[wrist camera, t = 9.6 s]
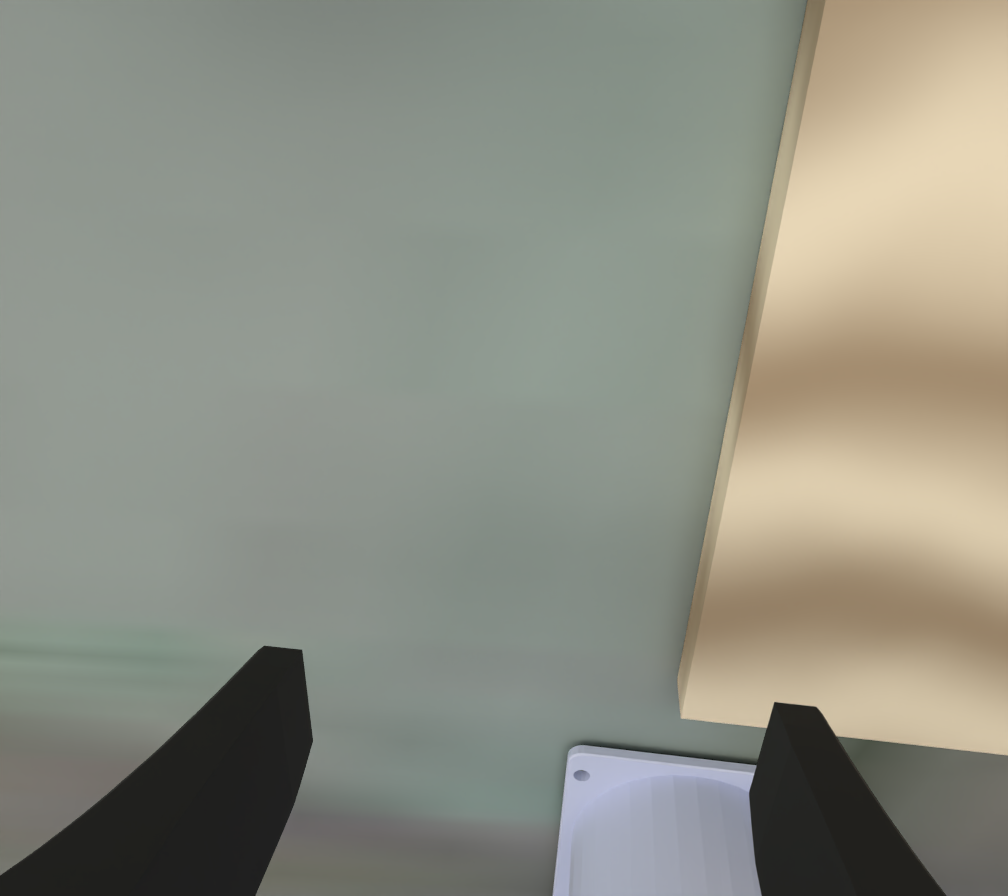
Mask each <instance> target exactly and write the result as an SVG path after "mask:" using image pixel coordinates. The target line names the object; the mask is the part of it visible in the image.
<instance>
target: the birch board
mask: <svg viewBox="0 0 1008 896" xmlns="http://www.w3.org/2000/svg"><path fill="white" fill-rule="evenodd" d="M677 683H678V693H679V704H680V715H681V718H682V719H691V720H699V721H708V722H717V723H726V724H735V725H744V726H753V727H762V728H767V726H768V723H769V719H770V715H771V712H772V708H773V705H774V702H779V703H788V704H797V705H806V706H815V707H817V708H818V709H819V710H820V711H821V713H822V714H823V716H824V717H825V719H826V720H827V722H828V724H829V725H830V727H831V729H832V730H833V732H834V733H835V735H836V736H841V737H850V738H859V739H868V740H877V741H886V742H894V743H903V744H912V745H921V746H930V747H939V748H948V749H956V750H965V751H974V752H983V753H992V754H1001V755H1008V0H808V1H807V6H806V11H805V17H804V22H803V27H802V32H801V37H800V43H799V48H798V53H797V58H796V63H795V69H794V74H793V79H792V84H791V89H790V95H789V100H788V105H787V110H786V115H785V121H784V126H783V131H782V136H781V141H780V147H779V152H778V157H777V162H776V168H775V173H774V178H773V183H772V188H771V194H770V199H769V204H768V209H767V214H766V220H765V225H764V230H763V235H762V240H761V246H760V251H759V256H758V261H757V266H756V272H755V277H754V282H753V287H752V292H751V298H750V303H749V308H748V313H747V318H746V324H745V329H744V334H743V339H742V345H741V350H740V355H739V360H738V365H737V371H736V376H735V381H734V386H733V391H732V397H731V402H730V407H729V412H728V417H727V423H726V428H725V433H724V438H723V443H722V449H721V454H720V459H719V464H718V469H717V475H716V480H715V485H714V490H713V495H712V501H711V506H710V511H709V516H708V522H707V527H706V532H705V537H704V542H703V548H702V553H701V558H700V563H699V568H698V574H697V579H696V584H695V589H694V594H693V600H692V605H691V610H690V615H689V620H688V626H687V631H686V636H685V641H684V646H683V652H682V657H681V662H680V667H679V672H678V678H677Z"/></svg>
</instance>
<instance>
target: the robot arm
mask: <svg viewBox="0 0 1008 896" xmlns="http://www.w3.org/2000/svg"><path fill="white" fill-rule="evenodd" d="M312 743H313V738H312V729H311V721H310V712H309V704H308V696H307V687H306V679H305V670H304V662H303V654H302V650H298V649H289V648H280V647H271V646H263V647H262V648H261V649H260V650H258V651H257V652H256V653H255V654H254V655H253V656H252V657H251V658H250V659H249V660H248V661H247V662H246V663H245V664H244V665H243V667H242V668H241V669H240V670H239V671H238V672H237V673H236V674H235V675H234V676H233V677H232V678H231V679H230V680H229V681H228V682H227V683H226V684H225V685H224V686H223V687H222V688H221V689H220V690H219V691H218V692H217V693H216V694H215V695H214V696H213V697H212V698H211V699H210V700H209V701H208V702H207V703H206V704H205V705H204V706H203V707H202V708H201V709H200V710H199V711H198V712H197V713H196V714H195V715H194V716H193V717H192V718H191V719H190V720H188V721H187V722H186V723H185V724H184V725H183V726H182V727H181V728H180V729H179V730H178V731H177V732H176V733H175V734H174V735H173V736H172V737H171V738H170V739H168V740H167V741H166V742H165V743H164V744H163V745H162V746H161V747H160V748H159V749H158V750H157V751H156V752H155V753H154V754H152V755H151V756H150V757H149V758H148V759H147V760H146V761H145V762H143V763H142V764H141V765H140V766H139V767H138V768H137V769H135V770H134V771H133V772H132V773H131V774H130V775H129V776H127V777H126V778H125V779H124V780H123V781H122V782H121V783H119V784H118V785H117V786H116V787H115V788H114V789H112V790H111V791H110V792H109V793H108V794H107V795H106V796H104V797H103V798H102V799H101V800H100V801H98V802H97V803H96V804H95V805H93V806H92V807H91V808H90V809H89V810H87V811H86V812H85V813H84V814H82V815H81V816H80V817H79V818H77V819H76V820H75V821H74V822H72V823H71V824H70V825H69V826H67V827H66V828H65V829H63V830H62V831H61V832H59V833H58V834H57V835H55V836H54V837H53V838H52V839H50V840H49V841H48V842H46V843H45V844H44V845H42V846H41V847H40V848H38V849H37V850H36V851H34V852H33V853H32V854H30V855H29V856H27V857H26V858H24V859H23V860H22V861H20V862H19V863H17V864H16V865H14V866H13V867H12V868H10V869H9V870H7V871H6V872H5V873H3V874H2V875H0V896H255V895H256V893H257V890H258V888H259V886H260V883H261V881H262V879H263V876H264V874H265V872H266V869H267V867H268V865H269V863H270V860H271V858H272V856H273V853H274V851H275V849H276V846H277V844H278V841H279V839H280V837H281V834H282V832H283V830H284V827H285V825H286V823H287V820H288V818H289V815H290V813H291V811H292V808H293V806H294V803H295V800H296V796H297V793H298V790H299V787H300V784H301V780H302V777H303V774H304V770H305V767H306V763H307V760H308V756H309V753H310V749H311V746H312ZM580 770H584V771H580ZM553 896H946V894H945V893H944V892H943V891H942V889H941V888H940V887H939V885H938V884H937V883H936V881H935V880H934V879H933V878H932V876H931V875H930V874H929V872H928V871H927V869H926V868H925V867H924V865H923V864H922V863H921V861H920V860H919V859H918V857H917V856H916V855H915V853H914V852H913V850H912V849H911V848H910V846H909V845H908V843H907V842H906V840H905V839H904V838H903V836H902V835H901V833H900V832H899V830H898V829H897V828H896V826H895V825H894V823H893V822H892V821H891V819H890V818H889V816H888V815H887V813H886V812H885V811H884V809H883V808H882V806H881V805H880V803H879V802H878V800H877V799H876V797H875V796H874V794H873V793H872V791H871V790H870V788H869V787H868V785H867V784H866V782H865V781H864V779H863V778H862V776H861V774H860V773H859V771H858V770H857V768H856V767H855V765H854V764H853V762H852V760H851V759H850V757H849V756H848V754H847V753H846V751H845V749H844V748H843V746H842V745H841V743H840V741H839V740H838V738H837V737H836V735H835V733H834V732H833V730H832V729H831V727H830V725H829V724H828V722H827V720H826V719H825V717H824V716H823V714H822V713H821V711H820V710H819V709H818V708H817V707H815V706H806V705H797V704H788V703H779V702H774V705H773V708H772V712H771V715H770V719H769V723H768V726H767V730H766V733H765V737H764V741H763V744H762V748H761V751H760V755H759V759H758V762H757V765H750V764H742V763H733V762H724V761H716V760H707V759H699V758H690V757H682V756H673V755H664V754H656V753H647V752H639V751H630V750H622V749H613V748H604V747H596V746H587V745H578V746H575V747H573V748H572V749H570V750H569V752H568V756H567V766H566V775H565V784H564V794H563V803H562V812H561V822H560V831H559V840H558V850H557V859H556V868H555V878H554V887H553Z"/></svg>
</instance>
